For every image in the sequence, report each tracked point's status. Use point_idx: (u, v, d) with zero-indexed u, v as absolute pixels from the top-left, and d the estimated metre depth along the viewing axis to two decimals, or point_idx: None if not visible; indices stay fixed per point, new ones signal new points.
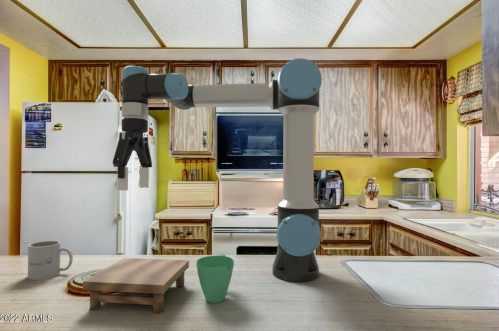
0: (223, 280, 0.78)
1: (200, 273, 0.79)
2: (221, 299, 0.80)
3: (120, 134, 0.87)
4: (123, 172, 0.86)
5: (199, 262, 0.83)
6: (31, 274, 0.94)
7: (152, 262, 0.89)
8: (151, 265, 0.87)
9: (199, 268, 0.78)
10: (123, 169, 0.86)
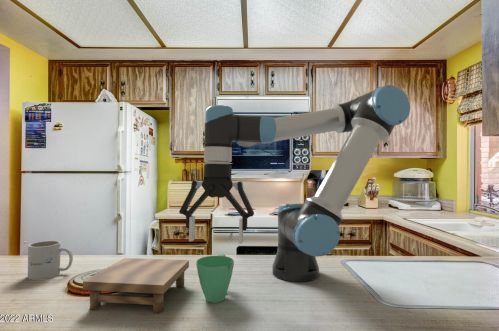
0: (223, 280, 0.78)
1: (200, 273, 0.79)
2: (221, 299, 0.80)
3: None
4: (187, 222, 0.84)
5: (199, 262, 0.83)
6: (31, 274, 0.94)
7: (152, 262, 0.89)
8: (151, 265, 0.87)
9: (199, 268, 0.78)
10: (187, 219, 0.84)
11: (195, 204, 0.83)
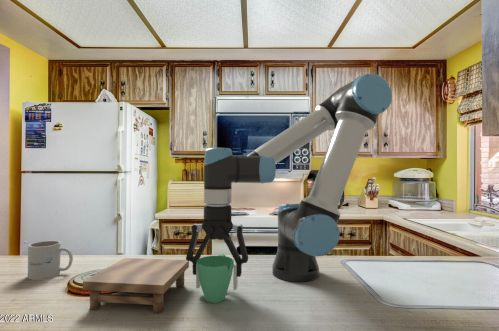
0: (223, 280, 0.78)
1: (200, 273, 0.79)
2: (221, 299, 0.80)
3: None
4: (194, 268, 0.84)
5: (199, 262, 0.83)
6: (31, 274, 0.94)
7: (152, 262, 0.89)
8: (151, 265, 0.87)
9: (199, 268, 0.78)
10: (194, 265, 0.84)
11: (199, 249, 0.83)
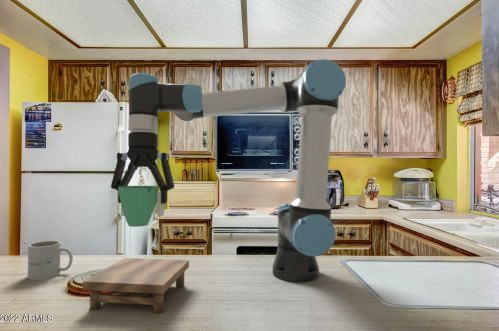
0: (143, 202, 0.77)
1: (120, 196, 0.78)
2: (142, 223, 0.79)
3: None
4: (119, 196, 0.83)
5: None
6: (31, 274, 0.94)
7: (152, 262, 0.89)
8: (151, 265, 0.87)
9: (119, 191, 0.78)
10: None
11: (124, 177, 0.83)
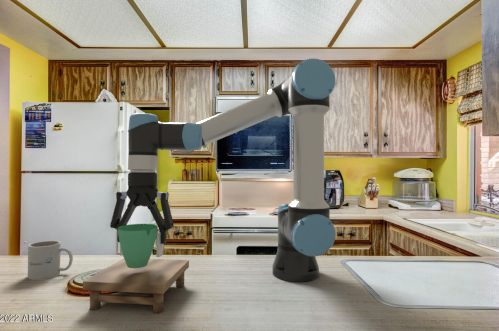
0: (142, 245, 0.77)
1: (119, 238, 0.78)
2: (142, 265, 0.79)
3: None
4: None
5: (123, 229, 0.82)
6: (31, 274, 0.94)
7: (152, 262, 0.89)
8: (151, 265, 0.87)
9: (118, 233, 0.78)
10: None
11: (123, 216, 0.82)
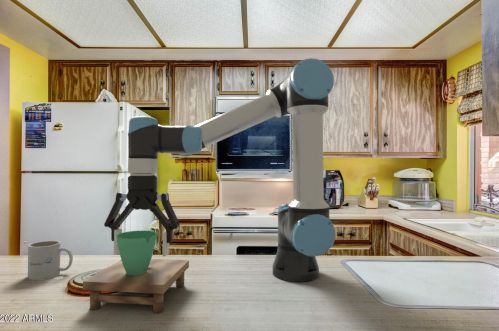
0: (141, 252, 0.77)
1: (119, 246, 0.78)
2: (141, 272, 0.79)
3: None
4: (113, 235, 0.83)
5: (122, 236, 0.82)
6: (31, 274, 0.94)
7: (152, 262, 0.89)
8: (151, 265, 0.87)
9: (118, 240, 0.78)
10: (113, 231, 0.83)
11: (120, 217, 0.83)
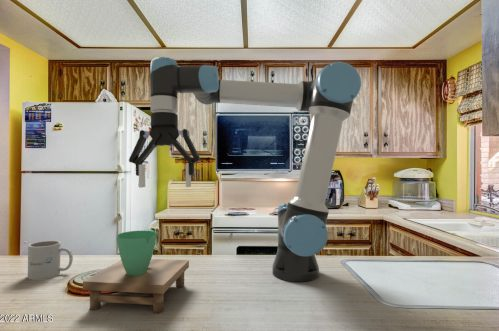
0: (141, 252, 0.77)
1: (118, 246, 0.78)
2: (141, 272, 0.79)
3: None
4: (137, 170, 0.89)
5: (122, 236, 0.82)
6: (31, 274, 0.94)
7: (152, 262, 0.89)
8: (151, 265, 0.87)
9: (117, 241, 0.78)
10: (137, 167, 0.89)
11: (143, 152, 0.88)
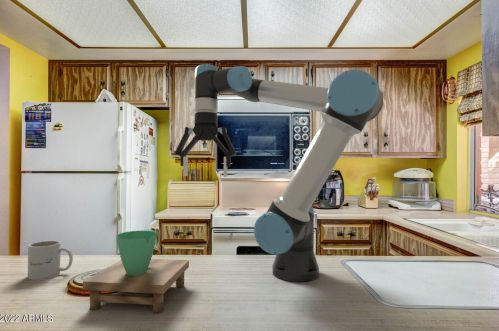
0: (141, 252, 0.77)
1: (118, 246, 0.78)
2: (141, 272, 0.79)
3: None
4: (182, 161, 1.03)
5: (122, 236, 0.82)
6: (31, 274, 0.94)
7: (152, 262, 0.89)
8: (151, 265, 0.87)
9: (117, 241, 0.78)
10: (182, 158, 1.03)
11: (188, 146, 1.03)
